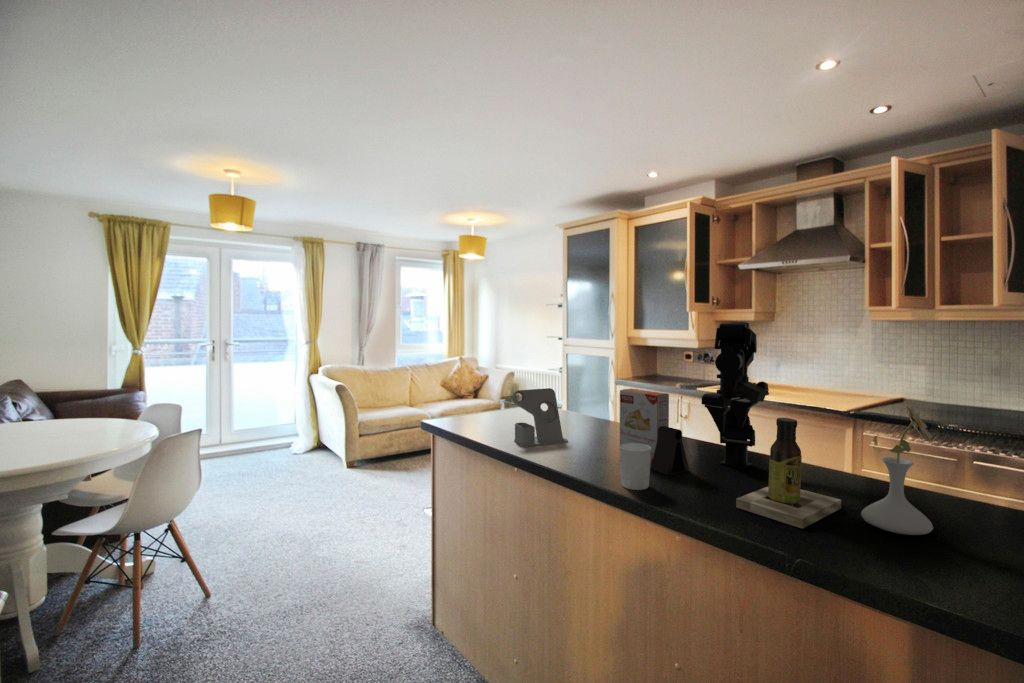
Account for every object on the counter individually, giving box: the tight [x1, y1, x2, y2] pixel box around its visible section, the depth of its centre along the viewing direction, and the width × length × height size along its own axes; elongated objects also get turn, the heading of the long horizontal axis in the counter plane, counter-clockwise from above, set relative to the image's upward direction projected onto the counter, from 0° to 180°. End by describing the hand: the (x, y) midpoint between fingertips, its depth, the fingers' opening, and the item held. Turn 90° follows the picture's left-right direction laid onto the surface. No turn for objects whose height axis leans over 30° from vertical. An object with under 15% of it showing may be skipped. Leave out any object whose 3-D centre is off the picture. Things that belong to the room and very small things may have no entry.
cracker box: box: [619, 388, 670, 466], centre depth 147 cm, size 14×6×21 cm, turn 37°
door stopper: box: [650, 426, 690, 476], centre depth 137 cm, size 9×6×12 cm, turn 120°
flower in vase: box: [860, 403, 934, 536], centre depth 98 cm, size 13×11×25 cm
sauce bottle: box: [767, 417, 803, 508], centre depth 109 cm, size 6×6×20 cm
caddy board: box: [735, 485, 842, 529], centre depth 109 cm, size 18×14×2 cm
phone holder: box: [511, 387, 569, 448], centre depth 171 cm, size 17×10×18 cm, turn 114°
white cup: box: [618, 443, 651, 491], centre depth 124 cm, size 8×8×10 cm
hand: (731, 429), depth 129 cm, fingers open, 9 cm apart
